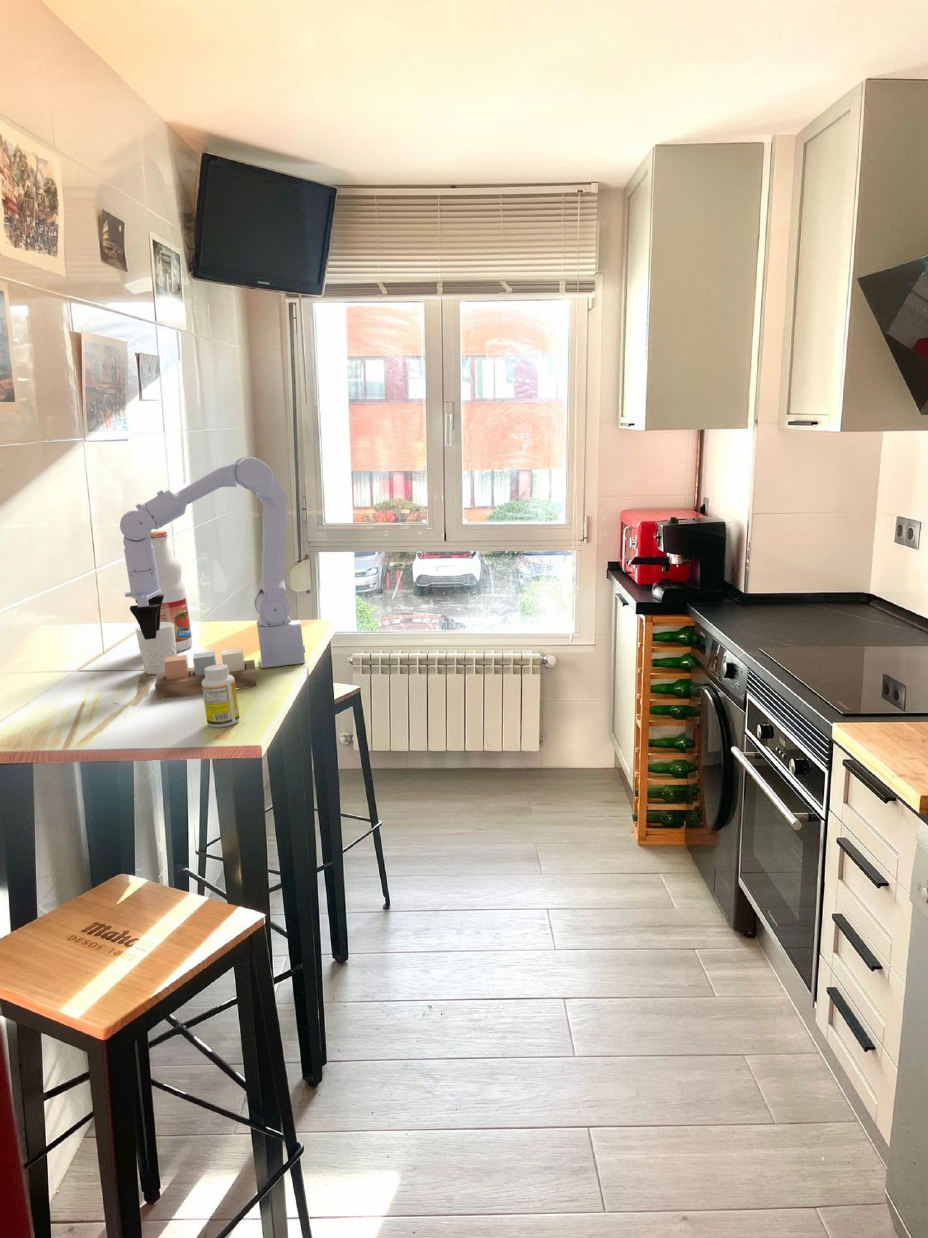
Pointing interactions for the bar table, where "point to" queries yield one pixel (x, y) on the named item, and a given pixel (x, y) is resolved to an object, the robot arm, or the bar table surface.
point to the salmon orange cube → (176, 667)
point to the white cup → (157, 647)
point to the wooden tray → (200, 682)
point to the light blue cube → (203, 662)
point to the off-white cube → (233, 659)
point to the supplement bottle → (220, 696)
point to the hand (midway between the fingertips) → (152, 634)
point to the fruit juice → (172, 591)
